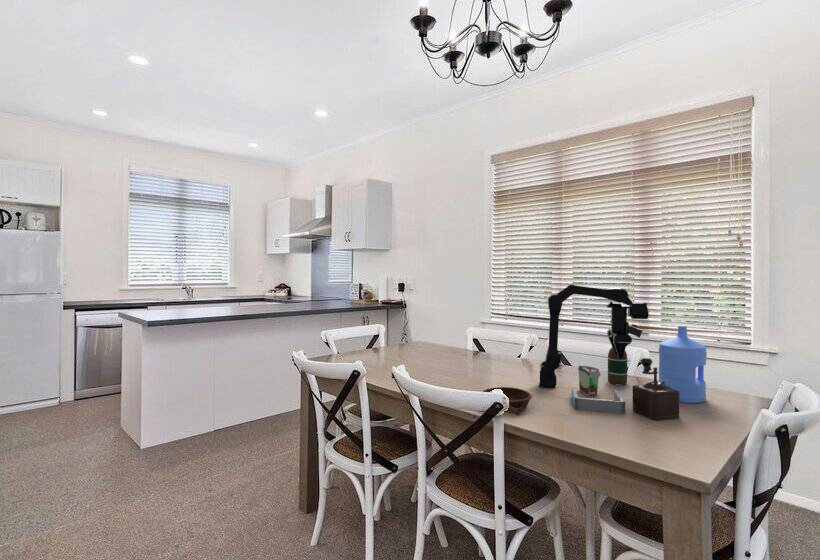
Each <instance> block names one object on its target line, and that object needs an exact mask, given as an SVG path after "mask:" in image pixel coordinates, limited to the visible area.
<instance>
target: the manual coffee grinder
mask: <svg viewBox="0 0 820 560" xmlns="http://www.w3.org/2000/svg"><path fill="white" fill-rule="evenodd" d="M640 364H641V365H642V366H643V369H642V371H641V373H642V374H643V375H653V381H650V382H647V383H644V384H635V385H632V412H634V413H635V414H637V413H638V414H637V415H640V416H642V417H644V416H645V418H647V419H649V420H652V421H657V422H658V421H669V420H670V421H671V420H677V419H680V403H681V402H680V392H679V391H678V390H675V389H672V388H671V387H669V386H666V385H665V384H664V383H665V382H664V381H663V382H662V383H660V382H659V381H658V374H659V371H658V367H656V366H655V367H653V368H652V364H653V359H652V358H649V357H642V358H641V359H640ZM652 370H653V371H652Z"/></svg>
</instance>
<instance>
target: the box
mask: <svg viewBox="0 0 820 560" xmlns="http://www.w3.org/2000/svg"><path fill="white" fill-rule="evenodd" d="M571 399H572V400H571V401H572V402H573V407H574V410H578V409H581V411H592V412H601V411H602V413H603V412H605V413H613V412H615V414H624V413H625V414H626V401H625V399H624V398H623V396H622V395H621V394H620V392H619V390H617V389H614V390H613V399H602V398H601V399H600V398H591V397H589V398H587V397H579V396H578V392H577V390H576V387H575V386H571Z"/></svg>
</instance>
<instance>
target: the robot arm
mask: <svg viewBox="0 0 820 560" xmlns="http://www.w3.org/2000/svg"><path fill="white" fill-rule="evenodd" d="M572 295H582V296H588V297H589V296H590V297H595V298H602V299H606V300H610V302H609V303H607V304H606V307H607V308H611V311H610V313H611V314H610V315H611V319H610V323H611V325H610V328H608V330H607V331H606V335H607V338H608V340H609V343H610V345H611V348H612V347H613V350H614V352H615V354H618V356H619V358H621V359H622V358H623V355H624V351H626V348H627V346H629V345H630V344H631V343H633V338H632V336H635V337H637V338H639V339H641V336H642V334H643V329H641V328H639V327H638V325H637V324H634V323H632V324H629V321H628V317H630V319H631V320H648V319H649V310H648V303H647V302H633V301H632V300H631V299H630V298H629V293H628V291H627V290H626V289H624V288H622V287H621V288H619V287H612V288H611V287H610V288H599V287H591V286H584V285H575V284H573V283H570V284H567V286H566V287H565V288H563V289H561V290H560V291H558V292H557V293H553V294H552V293H551V294H550V295H549V296H548V298H547V305H548V310H549V324H548V325H549V326H548V328H549V329H548V347H547V350H546V354H545V359H544V361H542V362H541V363H540V364H539V368H540V370H539V383H538V385H539V387H540V388H550V389H551V388H552V389H556V386H557V374H556V370H558V369H559V367H560V364H562V359H561V358H562V351H559V350H558V349H559V348H558V345H559V344H558V341H559V322H560V314H561V310H562V306H563V303H564V302H565V301H566V300H567V299H569V298H570V297H572ZM613 302H617V303H613ZM621 303H622V304H624V305H622V304H621ZM630 335H632V336H630Z"/></svg>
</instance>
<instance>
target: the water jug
mask: <svg viewBox="0 0 820 560" xmlns="http://www.w3.org/2000/svg"><path fill="white" fill-rule="evenodd" d="M658 345H659V347H658V355H659V356H658V364H659V365H658V382H660V383H662V382H663V381H664V382H665V383H664V384H665V385H666V386H669V387H671V388H672V389H675V390H678V391H679V392H680V403H682V404H702V403H704V402H706V401H707V394H706V388H707V385H706V384H707V383H706V381H705V379H704V378H705V377H704V376H705V375H704V370H705V369H704V367H705V366H706V365H707V347H706V346H705V345H703V344H702V343H699V342H697V341H696V340H693V339H691V338H689V337H688V326H685V325H684V326H683V325H679V326H677V336H675V337H673V338H669V339H667V340H663V341H661V342H659V344H658ZM696 370H697V372H696ZM696 373H697V377H696Z"/></svg>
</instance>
